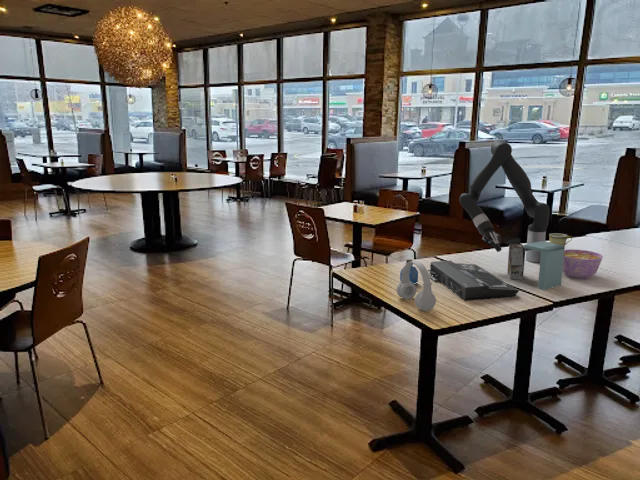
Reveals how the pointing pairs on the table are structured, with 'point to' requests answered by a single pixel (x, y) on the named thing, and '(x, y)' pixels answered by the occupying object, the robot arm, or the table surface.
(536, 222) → the robot arm
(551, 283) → the bracket
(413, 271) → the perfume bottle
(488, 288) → the vintage computer
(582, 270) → the bowl of food
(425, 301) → the headphones
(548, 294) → the table surface
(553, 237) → the ceramic cup
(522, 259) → the coffee box
